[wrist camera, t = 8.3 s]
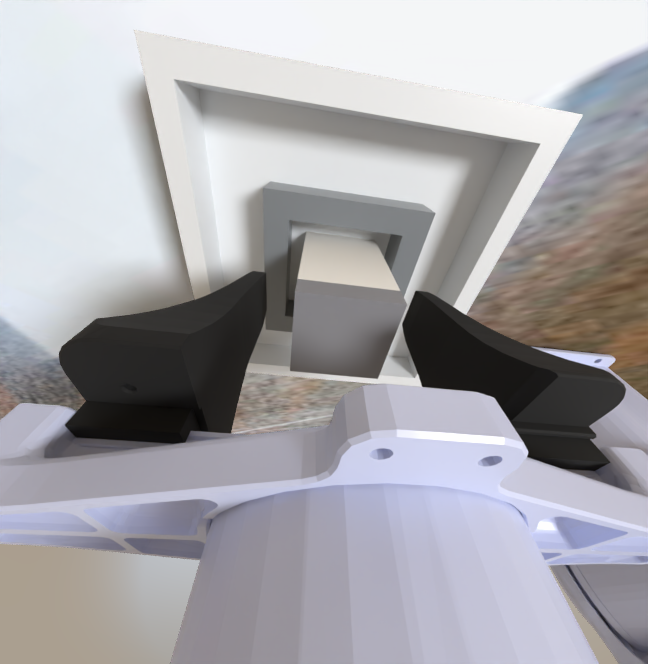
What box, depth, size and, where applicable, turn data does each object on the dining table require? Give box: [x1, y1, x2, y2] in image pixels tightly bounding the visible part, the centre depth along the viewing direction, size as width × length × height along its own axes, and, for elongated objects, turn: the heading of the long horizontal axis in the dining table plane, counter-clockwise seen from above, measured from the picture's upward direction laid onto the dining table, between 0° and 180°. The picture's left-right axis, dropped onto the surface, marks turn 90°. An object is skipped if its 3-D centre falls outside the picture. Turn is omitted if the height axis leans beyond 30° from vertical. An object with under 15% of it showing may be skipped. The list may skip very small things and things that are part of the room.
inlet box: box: [134, 30, 583, 387], centre depth 15 cm, size 16×16×3 cm
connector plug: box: [290, 231, 407, 379], centre depth 13 cm, size 4×4×7 cm
